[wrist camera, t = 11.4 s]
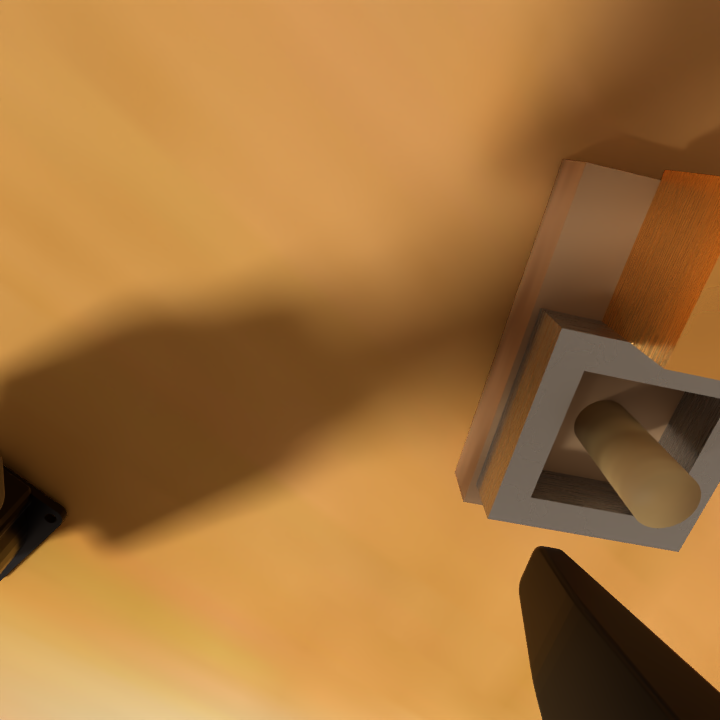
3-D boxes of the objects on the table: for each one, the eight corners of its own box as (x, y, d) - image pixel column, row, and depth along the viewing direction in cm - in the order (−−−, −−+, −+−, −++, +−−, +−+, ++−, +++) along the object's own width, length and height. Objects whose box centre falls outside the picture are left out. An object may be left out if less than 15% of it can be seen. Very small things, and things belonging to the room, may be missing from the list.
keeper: (626, 503, 24) (718, 628, 18) (455, 472, 23) (489, 591, 17) (776, 210, 19) (975, 247, 13) (562, 159, 18) (665, 171, 12)
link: (650, 515, 21) (711, 595, 18) (476, 484, 21) (501, 560, 17) (817, 206, 17) (948, 227, 13) (597, 153, 16) (669, 159, 12)
